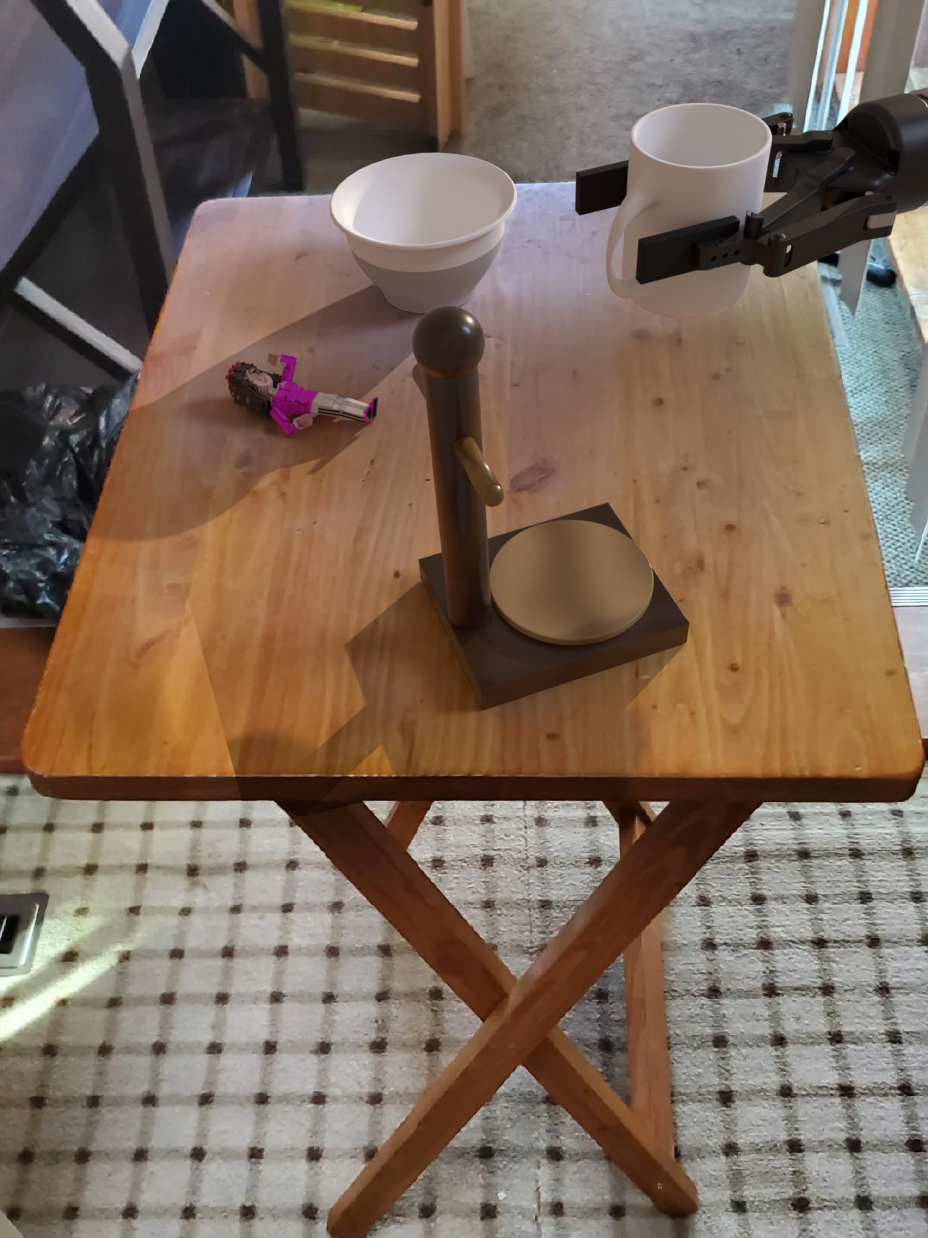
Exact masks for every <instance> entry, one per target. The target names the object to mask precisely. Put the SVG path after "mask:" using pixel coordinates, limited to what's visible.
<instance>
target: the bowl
mask: <svg viewBox="0 0 928 1238" xmlns="http://www.w3.org/2000/svg"><path fill="white" fill-rule="evenodd" d="M517 196H518V192H517V189H516V186H515V183H514V181H513V179H512V178H511V177H510V176H509V174H507V172H505V171H504V170H502V169H501V168H500V167H498V166H496V165H494V164H493V163H490V162H488V161H486V160H483V159H480V158H477V157H474V156H470V155H464V154H458V153H448V152H420V153H419V152H418V153H412V154H411V153H410V154H403V155H399V156H394V157H390V158H386V159H382V160H380V161H376V162H374V163H371V164H368V165H366V166H364V167H362V168H359V169H358V170H356V171H355V172H353V173H352V174H350V175H349V176H347V177H346V178H344V179H343V180H342V181H341V182H340V183H339V184H338V185H337V187H335V189H334V191H333V192H332V194H331V197H330V200H329V203H328V209H329V216H330V218H331V220H332V222H333V224H334V226H335V227H336V228H338V230H339V231H341V232H342V233H343V234H344V235H345V238H346V243H347V245H348V246H349V249H350V251H351V253H352V255H353V257H354V260H355V262H356V264H357V265H358V267H359V268H360V270H362V272H363V273H364V274H365V276H366V277H367V278H368V279H369V280H370V281H371V282H372V283H373V284H374V285H375V286H376V287H378V289H379V290H380V291H382V294H383V296H384V298H385V300H386V301H387V303H388V304H390V305H391V306H393V307H395V308H396V309H399V310H401V311H404V312H408V313H413V314H423V315H424V314H426V313H427V312H428V311H430V310H432V309H433V308H436V307H439V306H444V305H452V306H458V307H461V306H463V305H465V304H466V303H467V302H469V301H470V300H471V299H473V297H474V296H475V295H476V293H477V292H478V289H479V283H480V282H481V280H482V279H483V278H484V277H485V275H486V274H487V273H488V272H489V270H490V269H491V266H492V265H493V263H494V261H495V259H496V257H497V255H498V253H499V250H500V249H501V246H502V240H503V236H504V233H505V227H506V220H507V219H508V218H509V216H511V214H512V213H513V211H514V209H515V207H516V205H517V200H518V197H517Z"/></svg>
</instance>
